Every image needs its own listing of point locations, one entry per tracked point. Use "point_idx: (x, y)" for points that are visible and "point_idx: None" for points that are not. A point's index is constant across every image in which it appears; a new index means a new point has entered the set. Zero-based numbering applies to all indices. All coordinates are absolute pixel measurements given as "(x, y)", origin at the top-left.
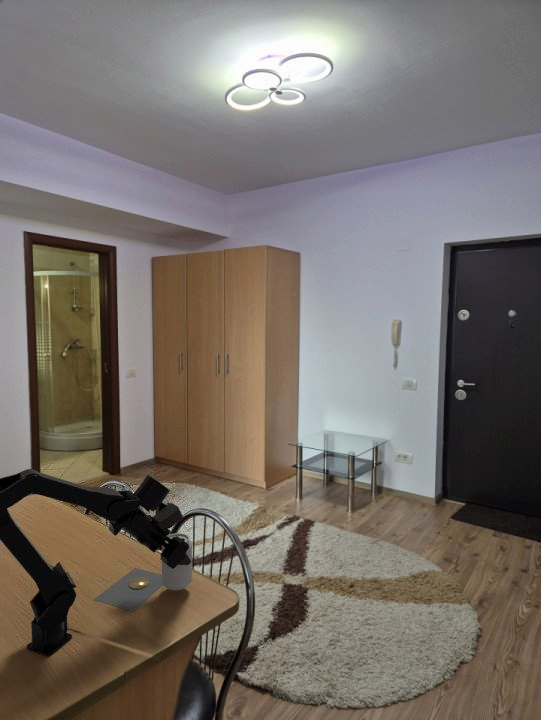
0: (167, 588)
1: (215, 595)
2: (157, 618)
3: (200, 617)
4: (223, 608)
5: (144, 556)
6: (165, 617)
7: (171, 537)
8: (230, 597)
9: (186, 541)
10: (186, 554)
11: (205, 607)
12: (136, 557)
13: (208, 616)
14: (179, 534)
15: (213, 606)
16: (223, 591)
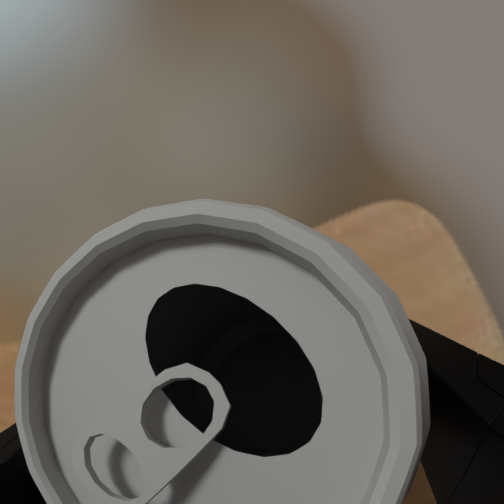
0: (296, 449)
1: (370, 248)
2: (404, 497)
3: (476, 344)
4: (456, 249)
5: (9, 378)
6: (416, 471)
7: (95, 480)
8: (402, 204)
9: (382, 294)
10: (484, 357)
11: (430, 309)
12: (5, 401)
13: (481, 315)
14: (55, 307)
15: (435, 279)
16: (356, 212)
